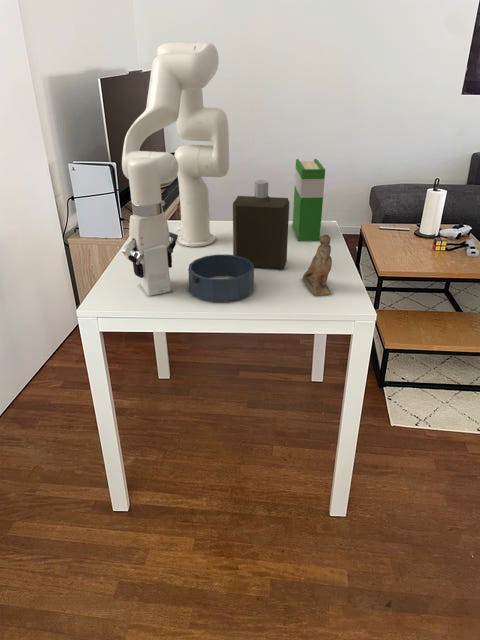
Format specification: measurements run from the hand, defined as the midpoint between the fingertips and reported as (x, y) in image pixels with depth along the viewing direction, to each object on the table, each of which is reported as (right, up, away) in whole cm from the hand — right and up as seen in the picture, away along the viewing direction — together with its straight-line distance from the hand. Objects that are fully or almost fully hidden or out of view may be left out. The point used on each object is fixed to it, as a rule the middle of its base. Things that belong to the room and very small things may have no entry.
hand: (153, 271), depth 129 cm
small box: (0, -5, +3) cm, 5 cm away
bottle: (+30, +4, +18) cm, 35 cm away
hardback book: (+47, +18, +43) cm, 66 cm away
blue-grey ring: (+18, -4, +3) cm, 19 cm away
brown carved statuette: (+45, -4, +3) cm, 45 cm away
